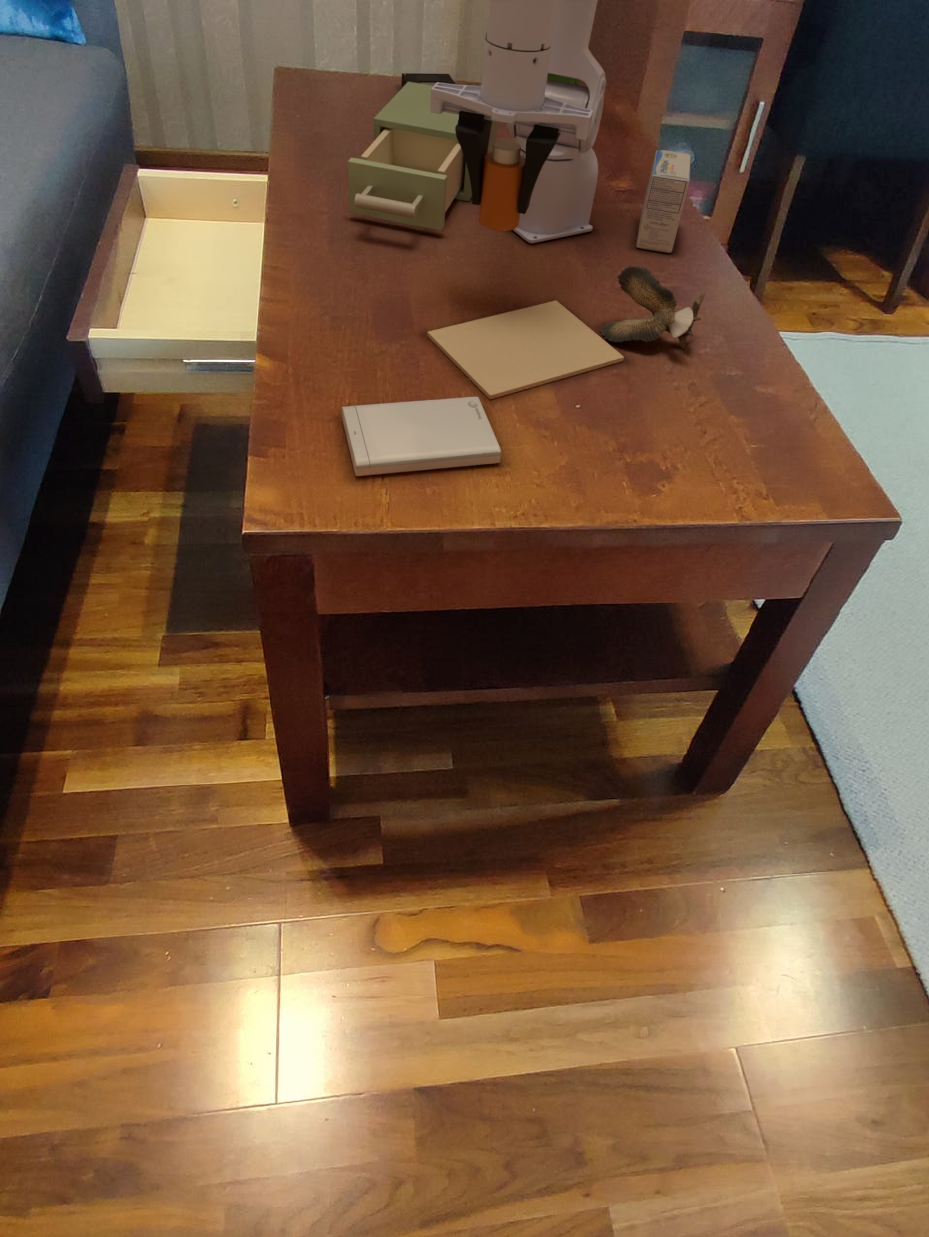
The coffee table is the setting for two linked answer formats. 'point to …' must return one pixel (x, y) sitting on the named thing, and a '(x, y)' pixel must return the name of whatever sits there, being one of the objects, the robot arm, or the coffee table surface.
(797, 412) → the coffee table surface
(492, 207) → the bottle
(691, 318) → the eagle figurine
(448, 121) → the cabinet
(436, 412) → the hard drive
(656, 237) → the medicine box
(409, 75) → the vhs tape
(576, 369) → the mat
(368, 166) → the drawer
